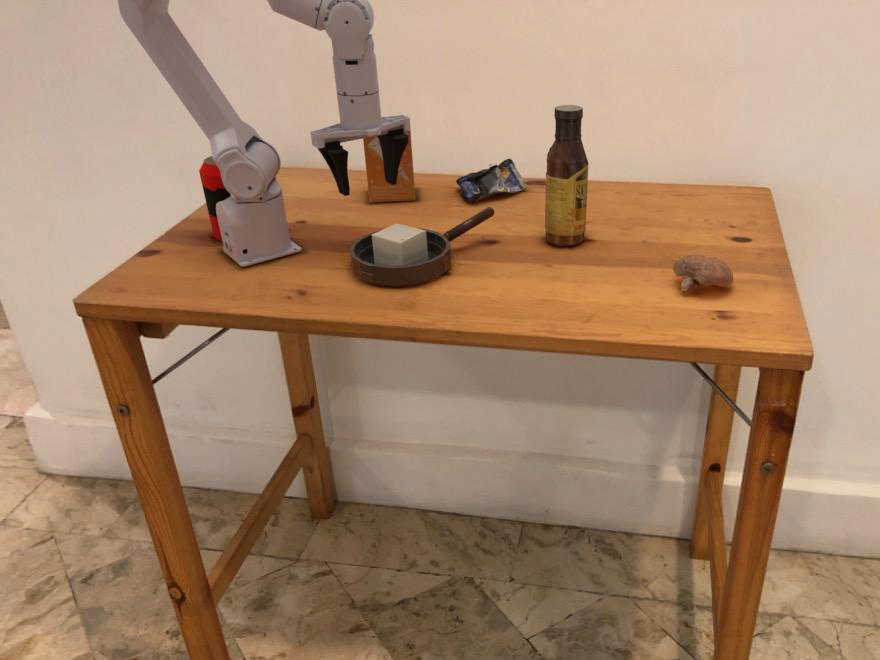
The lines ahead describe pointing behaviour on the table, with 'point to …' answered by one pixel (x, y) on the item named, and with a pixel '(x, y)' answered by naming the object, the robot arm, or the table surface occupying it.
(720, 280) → the mushroom
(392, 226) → the small box
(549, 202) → the sauce bottle
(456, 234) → the pan handle
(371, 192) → the small box
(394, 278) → the pan
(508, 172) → the snack package
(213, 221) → the soda can
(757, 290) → the table surface
